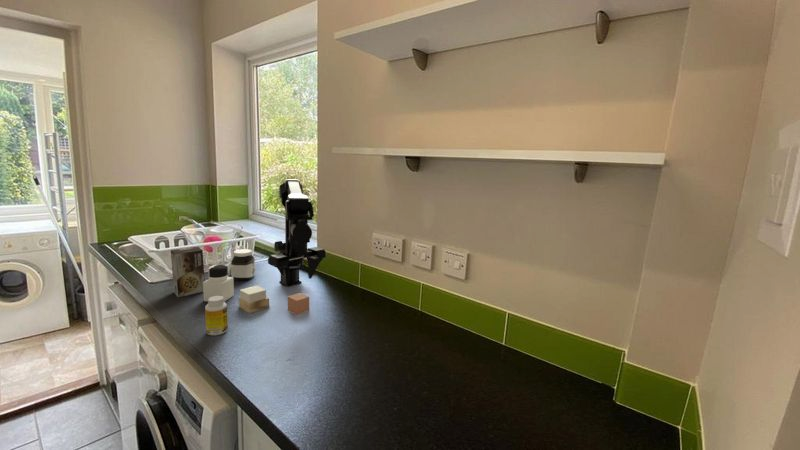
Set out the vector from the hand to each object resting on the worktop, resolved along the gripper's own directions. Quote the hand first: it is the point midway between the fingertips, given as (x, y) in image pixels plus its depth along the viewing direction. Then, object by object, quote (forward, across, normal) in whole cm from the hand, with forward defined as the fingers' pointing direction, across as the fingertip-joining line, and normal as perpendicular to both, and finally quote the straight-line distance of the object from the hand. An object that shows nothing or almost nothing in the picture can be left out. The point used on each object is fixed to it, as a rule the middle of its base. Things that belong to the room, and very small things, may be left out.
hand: (298, 281), depth 116 cm
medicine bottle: (+10, +14, -27) cm, 33 cm away
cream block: (+7, +9, -12) cm, 17 cm away
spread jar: (+11, -2, -44) cm, 46 cm away
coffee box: (+10, +19, -40) cm, 46 cm away
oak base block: (+11, +9, -12) cm, 19 cm away
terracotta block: (+10, 0, 0) cm, 10 cm away
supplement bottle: (+10, +25, -3) cm, 27 cm away
